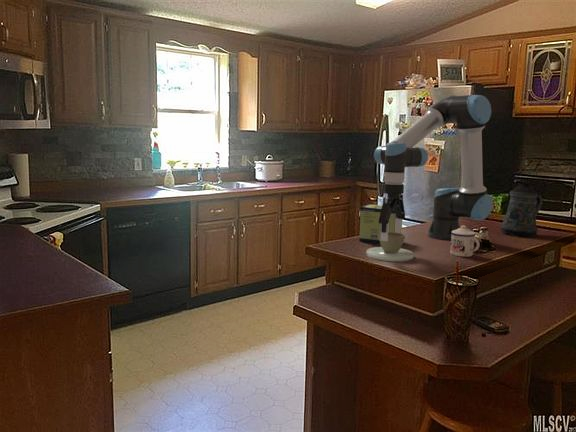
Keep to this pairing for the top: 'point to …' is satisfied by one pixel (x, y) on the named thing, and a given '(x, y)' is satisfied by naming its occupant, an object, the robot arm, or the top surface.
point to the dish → (389, 255)
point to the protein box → (373, 223)
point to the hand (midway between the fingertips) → (391, 237)
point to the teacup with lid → (463, 242)
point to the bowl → (392, 242)
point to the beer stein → (522, 211)
